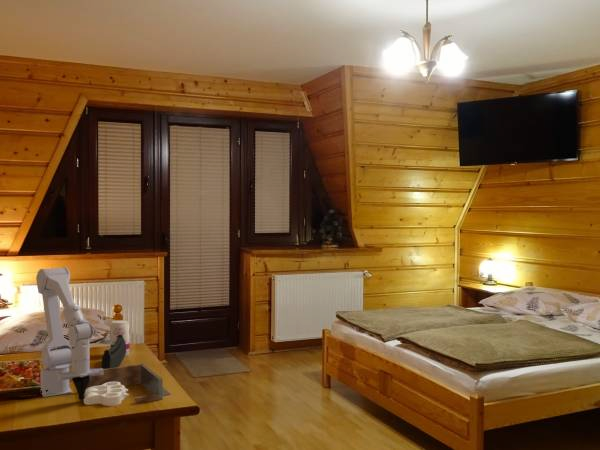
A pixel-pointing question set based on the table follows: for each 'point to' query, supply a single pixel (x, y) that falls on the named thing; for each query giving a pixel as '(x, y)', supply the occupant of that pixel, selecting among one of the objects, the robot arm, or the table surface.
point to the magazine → (114, 354)
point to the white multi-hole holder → (105, 394)
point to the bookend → (152, 382)
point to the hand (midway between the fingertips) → (80, 398)
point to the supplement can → (120, 333)
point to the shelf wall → (122, 379)
